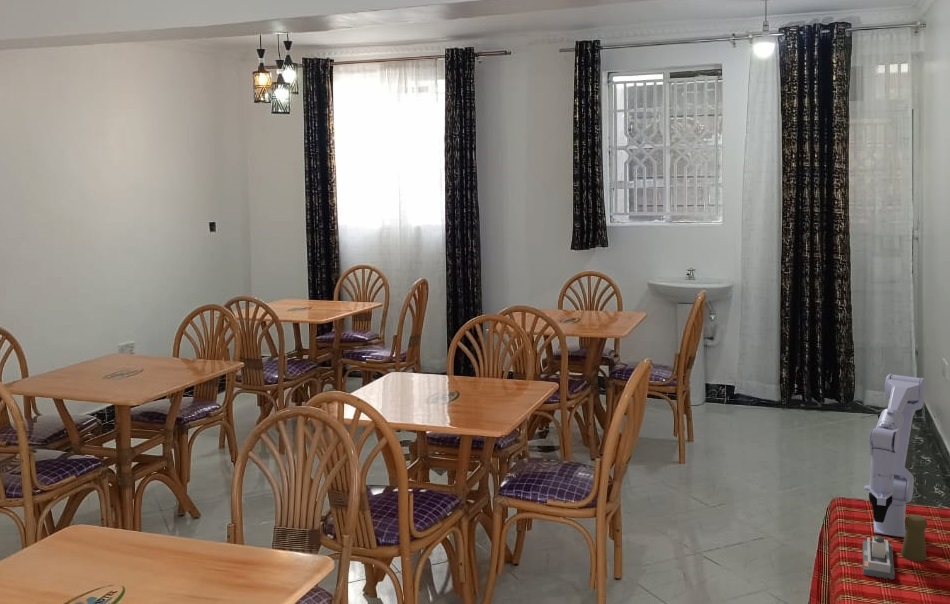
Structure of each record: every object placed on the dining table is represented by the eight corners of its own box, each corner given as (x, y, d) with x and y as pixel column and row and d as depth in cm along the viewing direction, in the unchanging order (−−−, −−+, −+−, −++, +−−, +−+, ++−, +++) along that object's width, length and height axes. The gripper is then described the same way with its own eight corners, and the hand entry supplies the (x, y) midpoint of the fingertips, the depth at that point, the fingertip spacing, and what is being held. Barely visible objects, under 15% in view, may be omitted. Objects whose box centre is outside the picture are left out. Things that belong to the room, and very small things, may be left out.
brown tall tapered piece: (929, 562, 222) (932, 522, 220) (904, 560, 223) (907, 520, 221) (922, 551, 228) (925, 512, 226) (897, 550, 229) (900, 511, 227)
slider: (871, 551, 224) (872, 534, 224) (884, 553, 223) (885, 536, 223) (871, 556, 222) (872, 539, 221) (884, 558, 221) (885, 541, 220)
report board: (862, 545, 232) (863, 533, 231) (891, 549, 229) (892, 537, 229) (863, 574, 216) (864, 561, 215) (894, 579, 213) (895, 566, 212)
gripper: (865, 461, 234) (862, 509, 236) (865, 479, 221) (862, 529, 223) (893, 465, 231) (890, 512, 233) (896, 483, 218) (892, 533, 220)
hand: (878, 521), depth 228 cm, fingers closed
